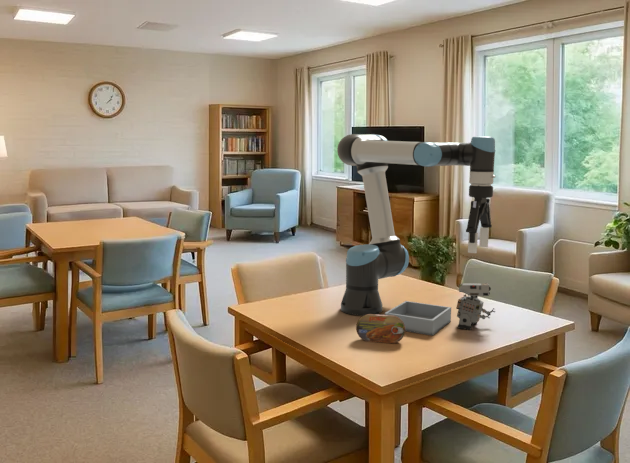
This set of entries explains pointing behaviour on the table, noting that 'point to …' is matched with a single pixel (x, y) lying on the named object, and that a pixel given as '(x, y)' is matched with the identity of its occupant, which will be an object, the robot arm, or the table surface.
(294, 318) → the table surface
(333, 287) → the table surface
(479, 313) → the figurine
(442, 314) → the bin
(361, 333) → the tin
